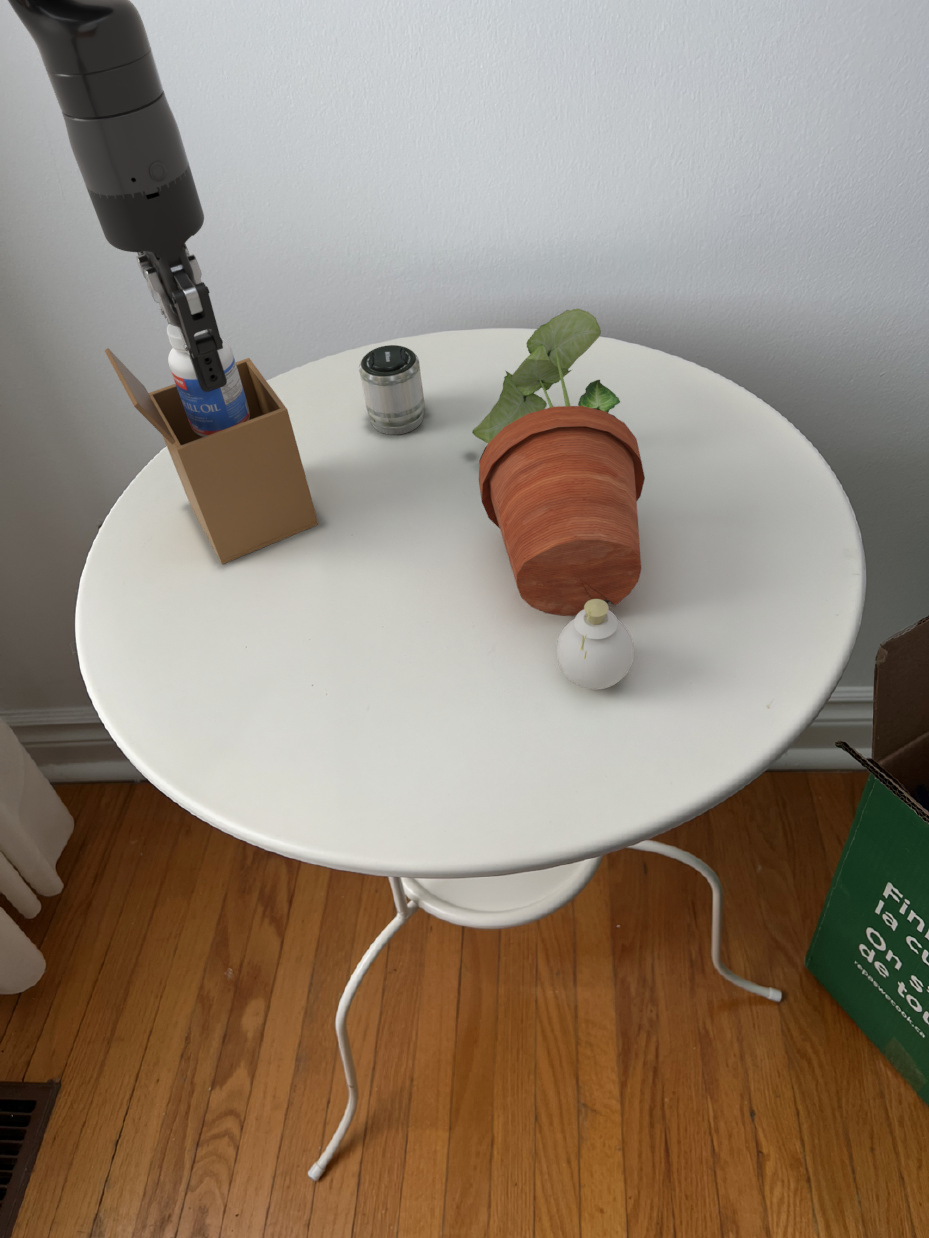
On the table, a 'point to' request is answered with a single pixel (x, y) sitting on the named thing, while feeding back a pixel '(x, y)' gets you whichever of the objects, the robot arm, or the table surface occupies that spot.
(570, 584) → the potted plant
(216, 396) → the pill bottle
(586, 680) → the white potion bottle
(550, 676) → the table surface
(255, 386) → the carton
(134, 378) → the flap
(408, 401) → the camera lens
